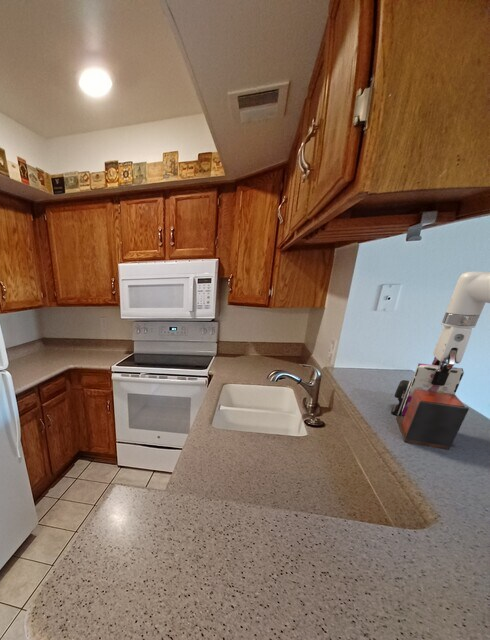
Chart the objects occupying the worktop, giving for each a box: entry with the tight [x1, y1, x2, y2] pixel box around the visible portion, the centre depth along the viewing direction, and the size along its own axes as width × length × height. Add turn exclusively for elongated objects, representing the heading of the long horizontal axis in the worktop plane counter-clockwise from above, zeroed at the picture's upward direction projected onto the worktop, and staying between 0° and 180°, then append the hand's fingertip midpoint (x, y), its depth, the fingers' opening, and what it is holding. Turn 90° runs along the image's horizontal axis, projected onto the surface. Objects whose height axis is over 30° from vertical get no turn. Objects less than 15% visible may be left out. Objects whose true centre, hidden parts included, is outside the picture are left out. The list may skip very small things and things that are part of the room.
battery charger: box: [390, 379, 412, 416], centre depth 114 cm, size 7×4×11 cm, turn 142°
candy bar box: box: [401, 363, 465, 416], centre depth 102 cm, size 11×5×16 cm, turn 56°
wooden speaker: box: [395, 389, 470, 451], centre depth 100 cm, size 11×18×13 cm, turn 155°
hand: (435, 381), depth 100 cm, fingers closed on candy bar box, 5 cm apart
